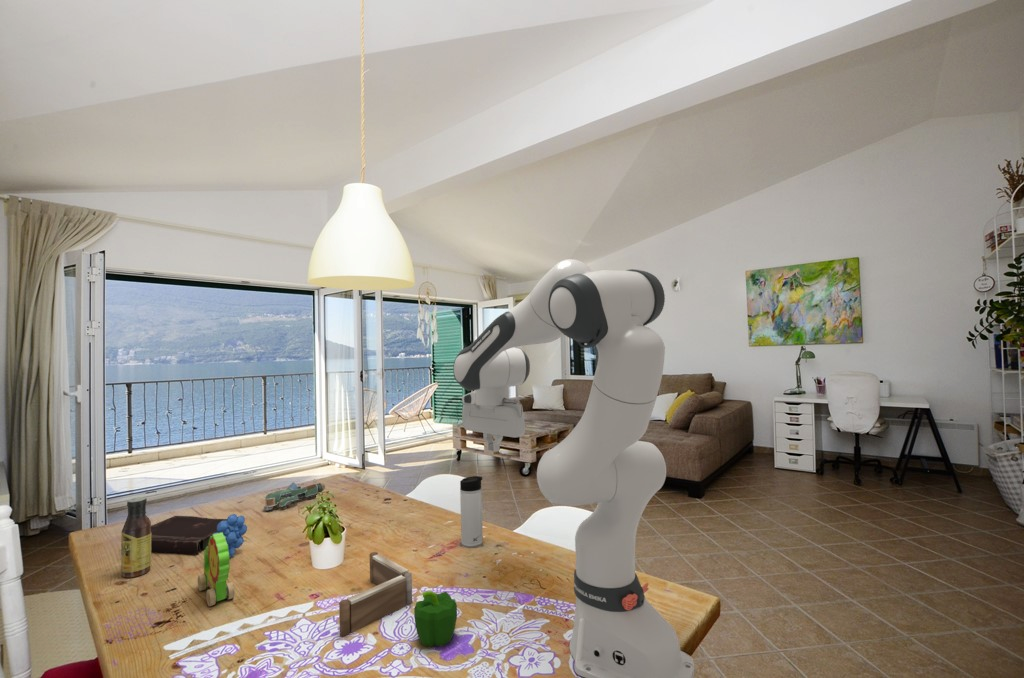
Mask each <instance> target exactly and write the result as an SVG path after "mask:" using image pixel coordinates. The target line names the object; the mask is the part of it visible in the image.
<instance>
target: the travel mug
mask: <svg viewBox="0 0 1024 678" xmlns="http://www.w3.org/2000/svg"><path fill="white" fill-rule="evenodd" d="M482 480H483V476H480V475H479V476H477V475H475V476H474V475H473V476H468V477H467V476H466V477H465V478H464V477H463V478H462V479H461V480H460V481H459V482H460V483H459V485H460V488H459V489H460V492H459V495H460V497H459V498H460V499H459V500H460V529H461V530H460V536H461V537H460V538H461V539H460V540H461V541H460V542H461V543H460V544H461V546H462V547H463V548H466V549H477V548H480V547H483V545H484V541H483V539H484V538H483V535H484V533H483V532H484V531H483V502H482V501H483V500H482V499H483V498H482V494H483V493H482Z"/></svg>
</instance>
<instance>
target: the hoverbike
mask: <svg viewBox="0 0 1024 678" xmlns="http://www.w3.org/2000/svg"><path fill="white" fill-rule="evenodd" d="M313 481H317V479H316V478H315V479H313ZM325 489H326V486H325V484H324V483H322V482H319V483H313V484H311V485H307V486H305V487H302V486H300V485H298V486H297V484H296V483H295V482H294V481H293V482H292V483H290V484H289V485H288V487H286V488H284V489H280V490H278V491H274V492H272V491H271V492H270V493H268V494H267V495H266V496H265V498H264V499H265V500H264V501H265V502H264V503H265V505H264V506H263V510H264V511H265V512H267V513H268V512H269V511H270V512H274V511H275V512H276V511H278V510H279V509H281V508H282V510H287V507H288V505H291V504H292V505H293V507H294V506H295V507H296V506H297V505H298V501H304V500H305V499H306V500H309V501H310V500H311V499H313V500H314V499H315V498H316V497H315V496H316V494H317V495H318V494H320V493H322V492H323V491H324V490H325ZM276 506H278V508H275V507H276ZM274 509H275V510H274Z"/></svg>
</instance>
